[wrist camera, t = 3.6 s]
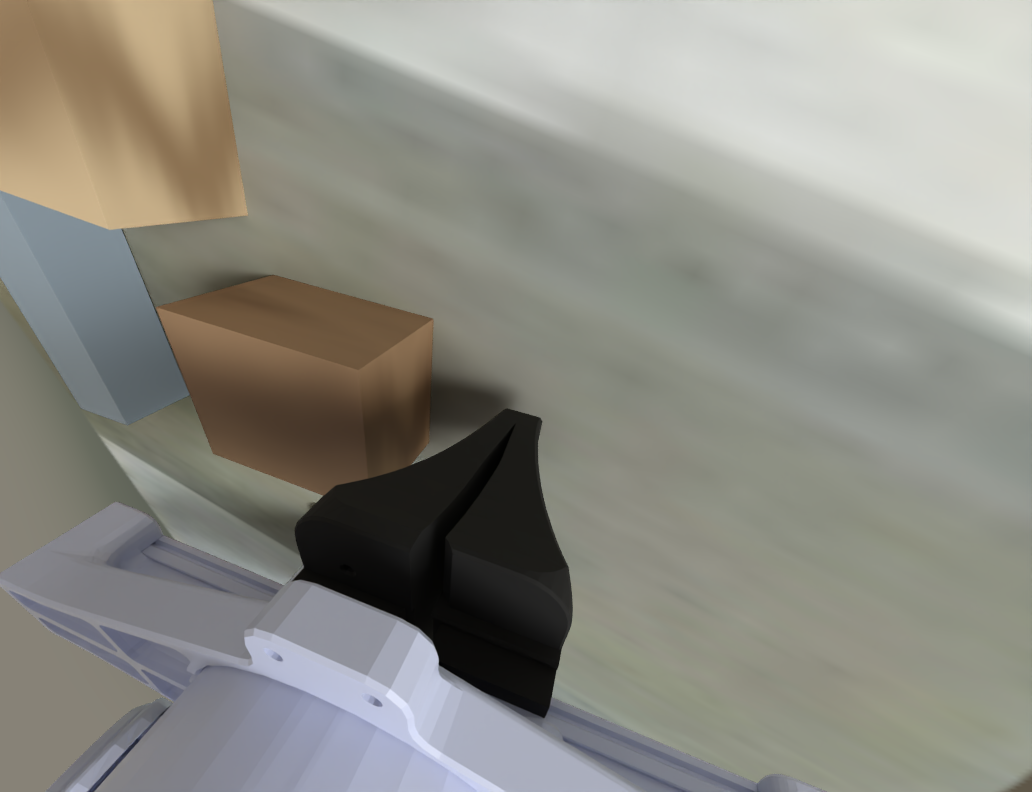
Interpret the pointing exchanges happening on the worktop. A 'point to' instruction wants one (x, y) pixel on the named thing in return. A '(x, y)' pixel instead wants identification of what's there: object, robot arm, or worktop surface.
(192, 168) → the oak block
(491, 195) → the worktop surface
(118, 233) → the batten
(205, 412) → the walnut block
